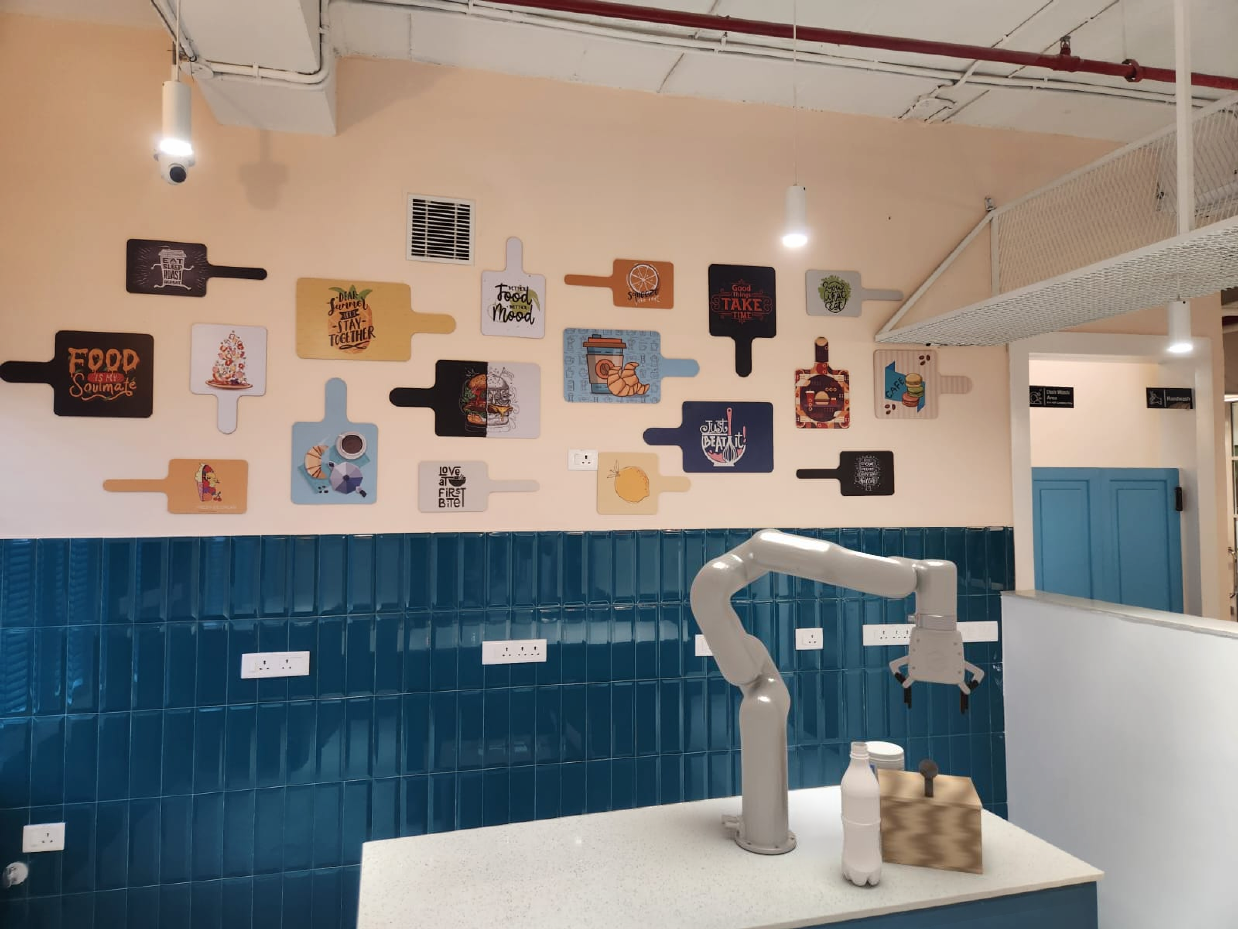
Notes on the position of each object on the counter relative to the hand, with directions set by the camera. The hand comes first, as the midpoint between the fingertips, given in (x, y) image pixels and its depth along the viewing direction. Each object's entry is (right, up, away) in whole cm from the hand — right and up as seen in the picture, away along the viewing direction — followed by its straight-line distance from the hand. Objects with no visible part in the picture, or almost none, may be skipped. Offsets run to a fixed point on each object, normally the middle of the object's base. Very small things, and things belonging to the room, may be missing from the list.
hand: (935, 710), depth 149 cm
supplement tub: (-2, -31, +23) cm, 39 cm away
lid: (0, -18, +5) cm, 19 cm away
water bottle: (-17, -30, -7) cm, 35 cm away
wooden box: (0, -30, +4) cm, 30 cm away
